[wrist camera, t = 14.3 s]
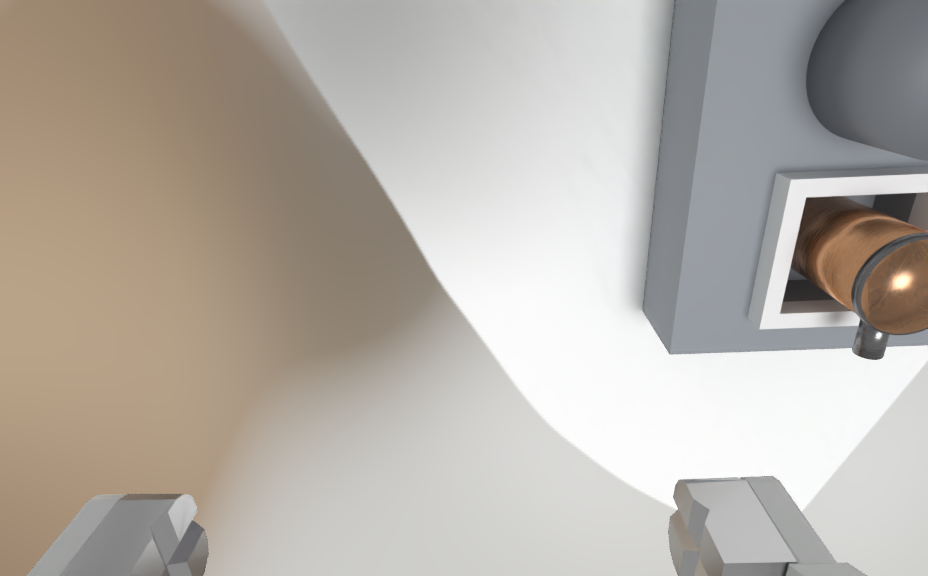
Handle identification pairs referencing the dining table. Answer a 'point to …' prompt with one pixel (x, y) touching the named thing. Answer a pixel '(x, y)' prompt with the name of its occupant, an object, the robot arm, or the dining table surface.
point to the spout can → (866, 268)
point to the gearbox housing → (779, 162)
